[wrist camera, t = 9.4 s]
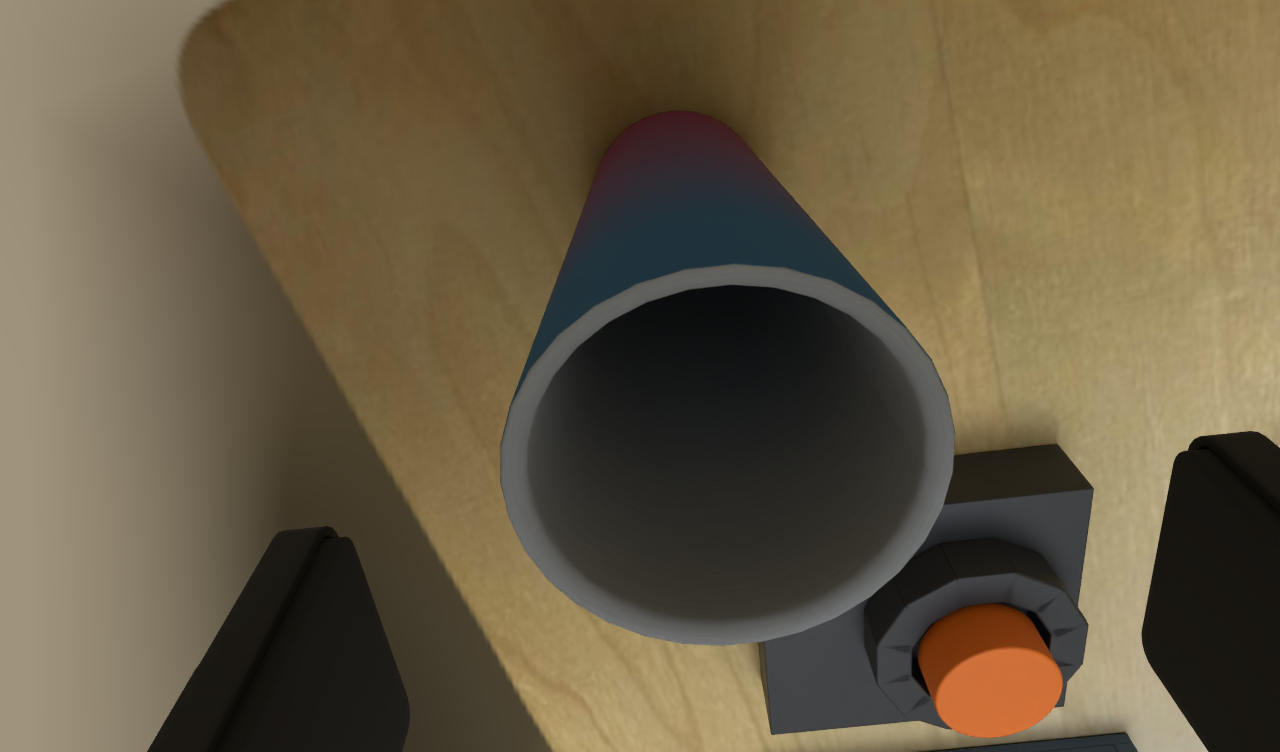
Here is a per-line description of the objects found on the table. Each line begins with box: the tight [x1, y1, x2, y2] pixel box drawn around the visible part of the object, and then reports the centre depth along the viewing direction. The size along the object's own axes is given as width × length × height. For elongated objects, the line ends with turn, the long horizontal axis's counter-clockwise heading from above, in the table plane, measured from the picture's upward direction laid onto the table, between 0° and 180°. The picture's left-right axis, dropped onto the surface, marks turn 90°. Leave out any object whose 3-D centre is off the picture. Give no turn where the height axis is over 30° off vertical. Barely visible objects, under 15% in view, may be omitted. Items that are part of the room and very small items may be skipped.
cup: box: [500, 111, 955, 646], centre depth 20 cm, size 7×7×15 cm
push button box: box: [759, 445, 1094, 735], centre depth 31 cm, size 11×10×4 cm
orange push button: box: [918, 603, 1063, 738], centre depth 29 cm, size 4×4×2 cm
